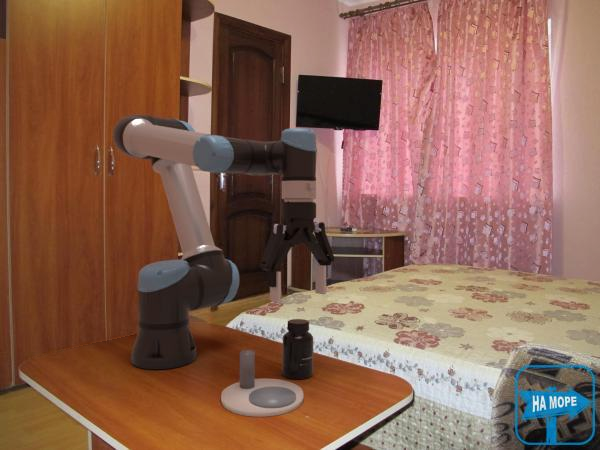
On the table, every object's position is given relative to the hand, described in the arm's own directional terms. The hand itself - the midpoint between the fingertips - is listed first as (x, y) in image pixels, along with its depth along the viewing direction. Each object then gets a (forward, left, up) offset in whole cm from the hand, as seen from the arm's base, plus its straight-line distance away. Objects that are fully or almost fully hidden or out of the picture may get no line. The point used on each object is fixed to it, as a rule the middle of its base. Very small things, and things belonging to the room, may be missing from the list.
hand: (299, 297), depth 109 cm
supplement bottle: (0, 0, -18) cm, 18 cm away
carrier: (+5, -14, -17) cm, 23 cm away
